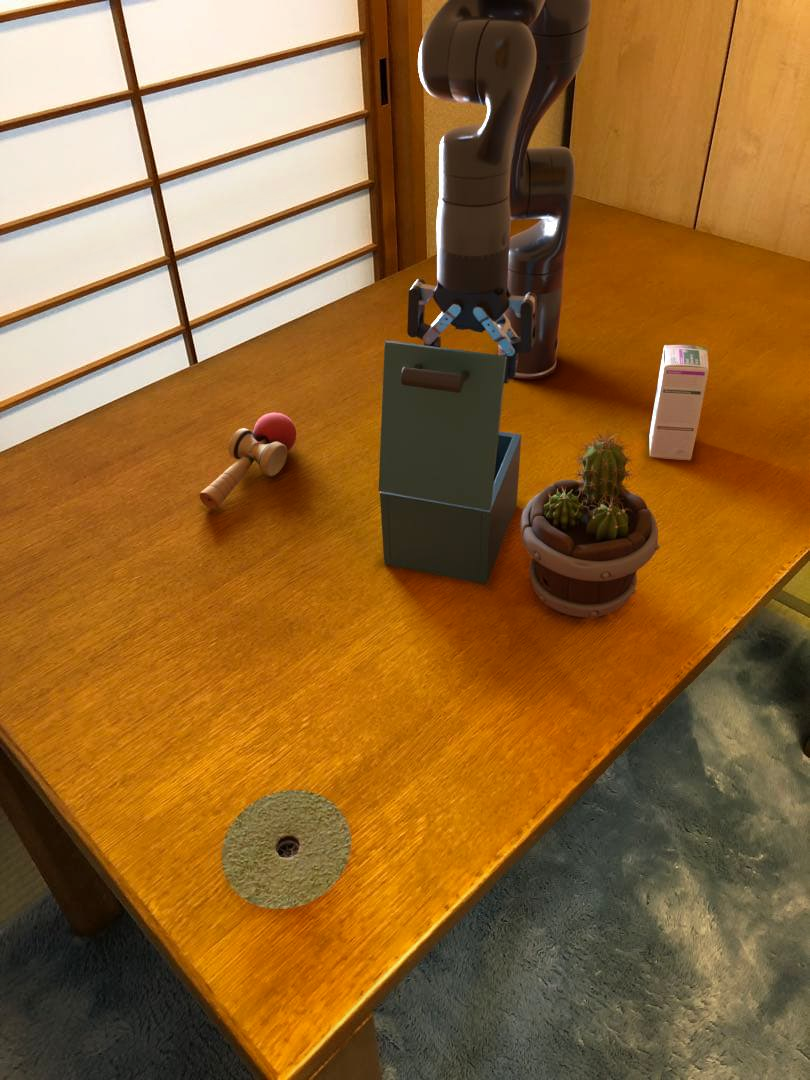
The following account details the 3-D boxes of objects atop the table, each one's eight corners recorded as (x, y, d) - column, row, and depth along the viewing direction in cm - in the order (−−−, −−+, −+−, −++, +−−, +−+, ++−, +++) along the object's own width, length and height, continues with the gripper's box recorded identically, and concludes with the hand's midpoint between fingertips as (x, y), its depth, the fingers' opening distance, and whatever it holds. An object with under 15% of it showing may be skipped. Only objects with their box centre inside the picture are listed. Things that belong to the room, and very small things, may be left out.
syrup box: (691, 461, 120) (712, 367, 110) (647, 457, 121) (664, 364, 111) (690, 438, 124) (709, 345, 115) (647, 434, 125) (663, 342, 116)
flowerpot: (619, 656, 94) (647, 510, 81) (492, 605, 100) (498, 462, 87) (665, 575, 103) (697, 433, 90) (546, 533, 109) (560, 395, 96)
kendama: (241, 526, 114) (315, 441, 124) (222, 490, 110) (300, 404, 120) (199, 517, 118) (273, 435, 128) (179, 481, 114) (258, 399, 124)
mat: (284, 947, 71) (281, 936, 70) (198, 863, 77) (194, 851, 76) (379, 851, 77) (378, 839, 76) (292, 779, 83) (290, 767, 82)
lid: (387, 340, 92) (369, 351, 87) (506, 355, 88) (495, 368, 84) (380, 488, 99) (363, 506, 94) (491, 508, 96) (479, 527, 91)
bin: (422, 488, 117) (421, 419, 110) (516, 504, 114) (521, 434, 107) (384, 564, 106) (379, 493, 99) (487, 585, 103) (490, 512, 96)
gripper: (549, 230, 91) (537, 367, 102) (419, 217, 95) (421, 350, 106) (533, 260, 86) (523, 401, 97) (396, 245, 90) (401, 382, 100)
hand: (470, 374), depth 101 cm, fingers open, 8 cm apart
